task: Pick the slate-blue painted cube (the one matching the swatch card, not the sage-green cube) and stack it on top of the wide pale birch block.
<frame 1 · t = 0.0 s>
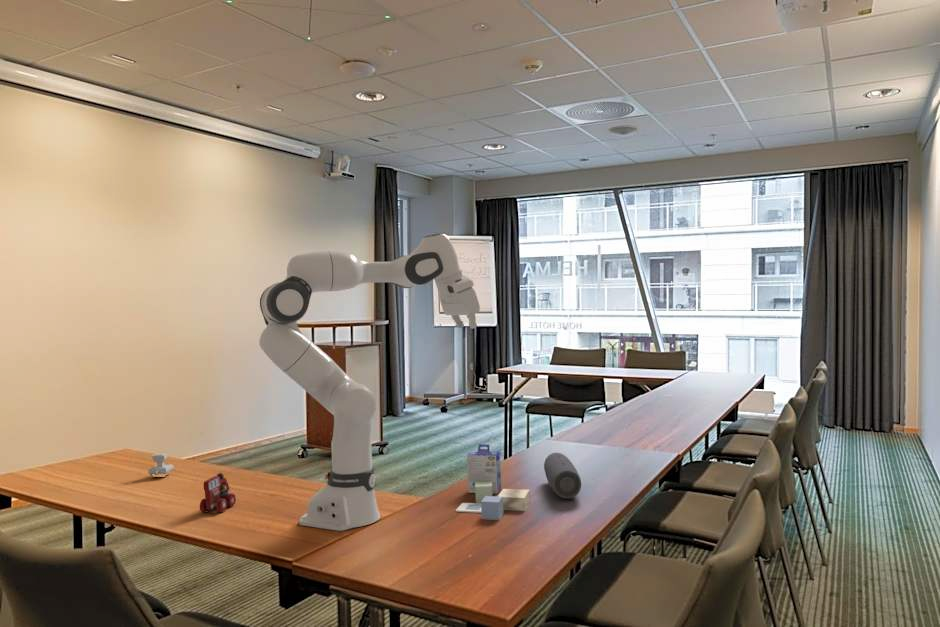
hand: (467, 327, 196), 52 cm above the table, tool tilted 20°, fingers open, 8 cm apart
stamp: (161, 477, 240), on the table
green cube: (484, 500, 194), on the table
blue cube: (492, 516, 179), on the table
toy fire truck: (218, 509, 197), on the table
bluetooth speaker: (562, 492, 200), on the table
ink cartridge box: (485, 491, 204), on the table
birch base: (514, 506, 188), on the table
swatch card: (474, 508, 187), on the table
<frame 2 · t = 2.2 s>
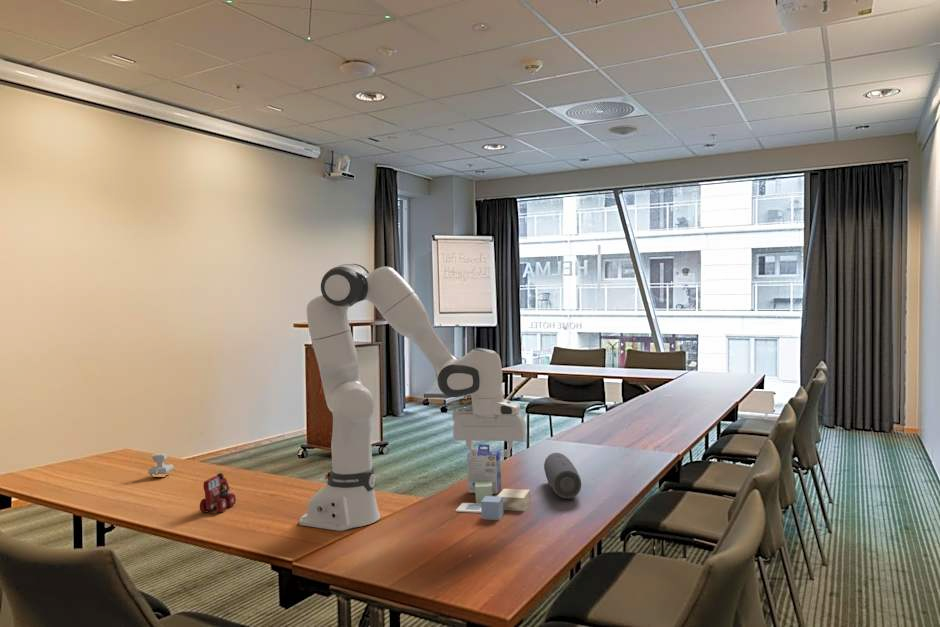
hand: (490, 456, 179), 17 cm above the table, tool pointing down, fingers open, 8 cm apart
nothing on the table moved.
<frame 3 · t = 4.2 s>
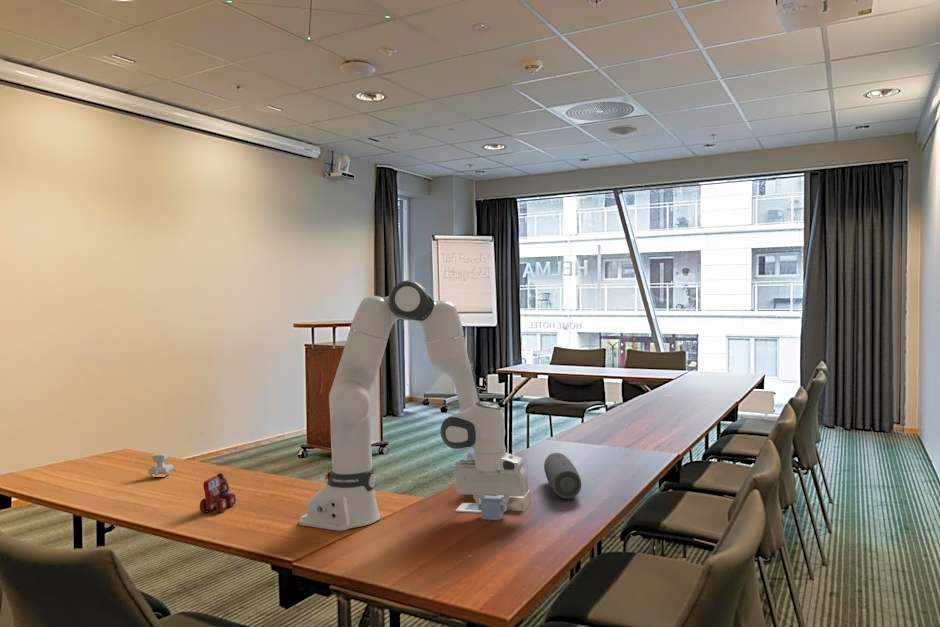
hand: (492, 510, 179), 2 cm above the table, tool pointing down, fingers closed on blue cube, 5 cm apart
blue cube: (492, 516, 179), on the table, touching gripper
everything else where it was.
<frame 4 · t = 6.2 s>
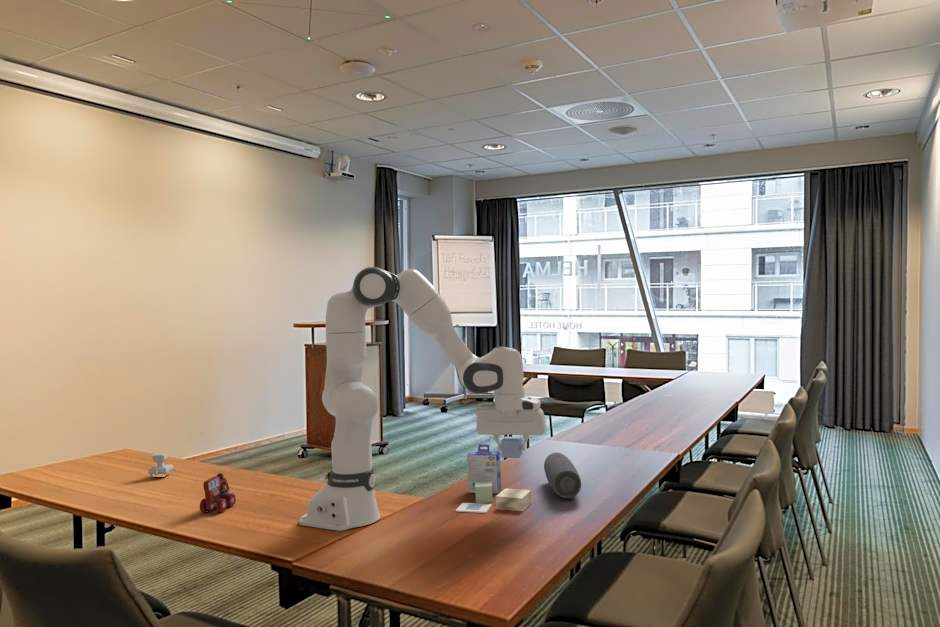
hand: (512, 449, 187), 16 cm above the table, tool pointing down, fingers closed on blue cube, 5 cm apart
blue cube: (512, 455, 187), point 15 cm above the table, touching gripper
everything else where it was.
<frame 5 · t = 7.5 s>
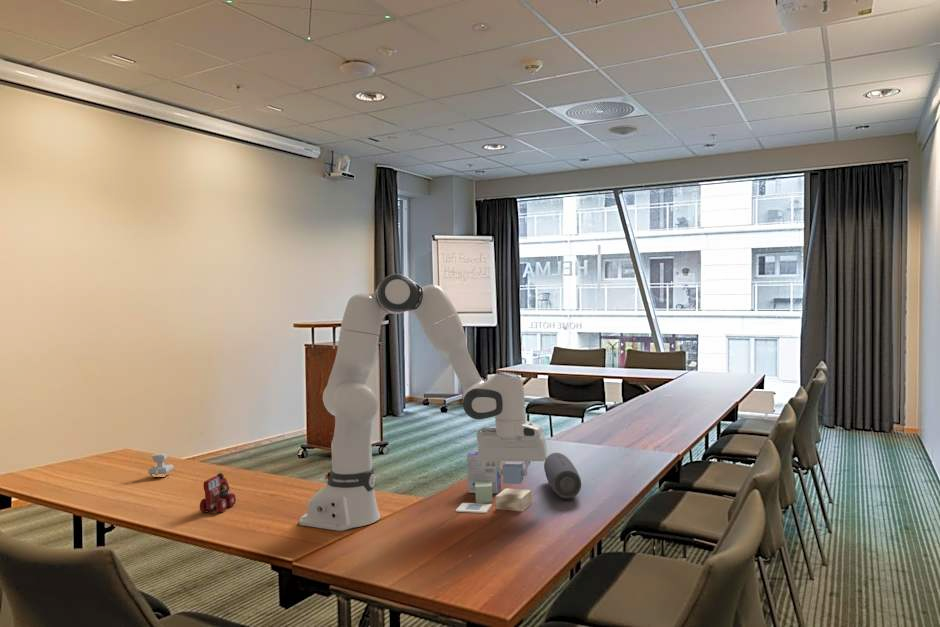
hand: (513, 475, 188), 9 cm above the table, tool pointing down, fingers closed on blue cube, 5 cm apart
blue cube: (513, 481, 188), point 7 cm above the table, touching gripper
everything else where it was.
when the fingers open (7 cm above the table, at t = 8.3 s): blue cube drops 1 cm, resting on birch base.
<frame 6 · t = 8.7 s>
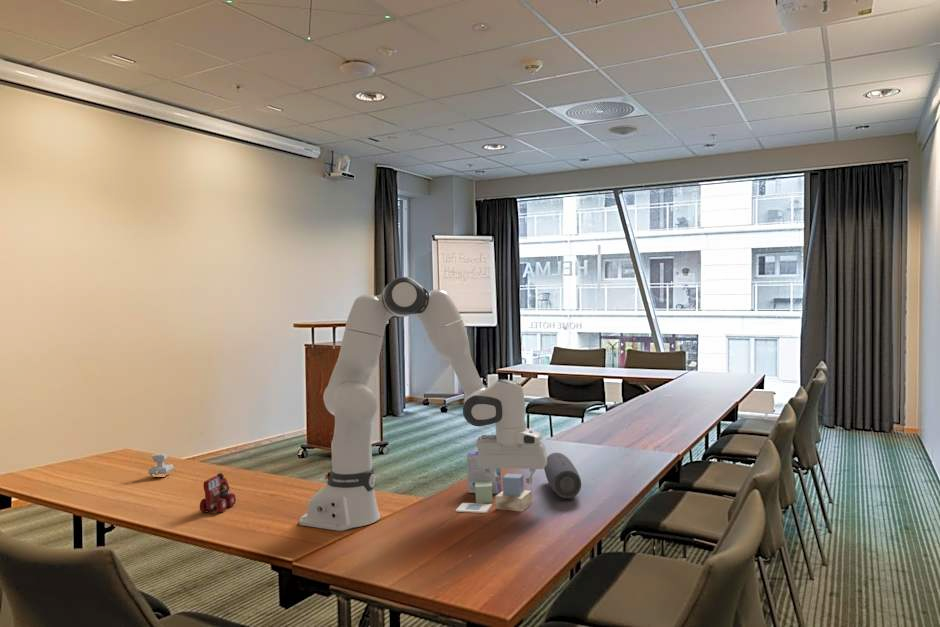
hand: (513, 482, 188), 7 cm above the table, tool pointing down, fingers open, 8 cm apart
blue cube: (513, 493, 188), point 4 cm above the table, touching birch base
birch base: (514, 507, 188), on the table, touching blue cube
everything else where it was.
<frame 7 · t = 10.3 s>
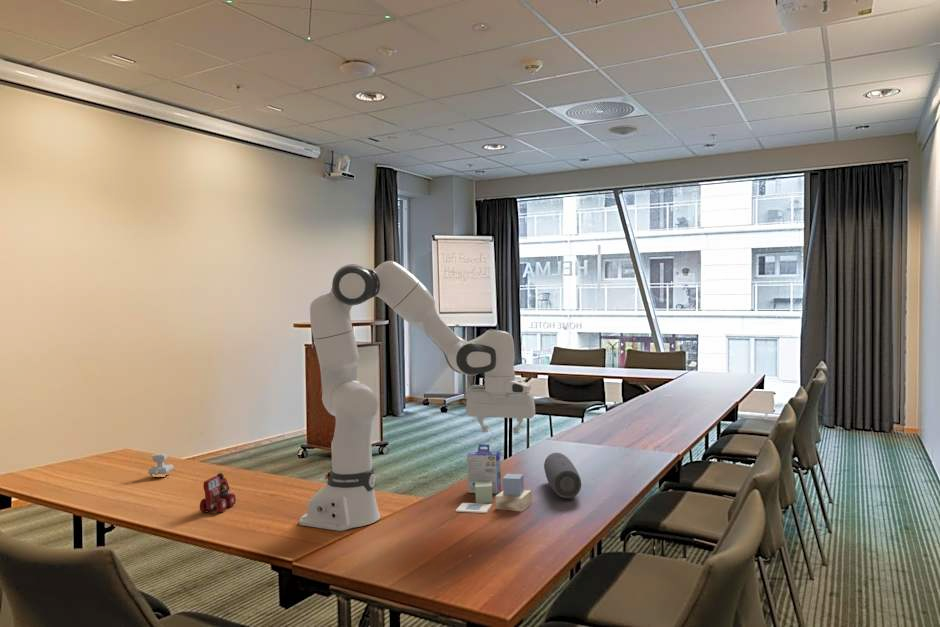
hand: (500, 432, 188), 21 cm above the table, tool pointing down, fingers open, 8 cm apart
blue cube: (513, 493, 188), point 4 cm above the table
birch base: (514, 506, 188), on the table
everything else where it was.
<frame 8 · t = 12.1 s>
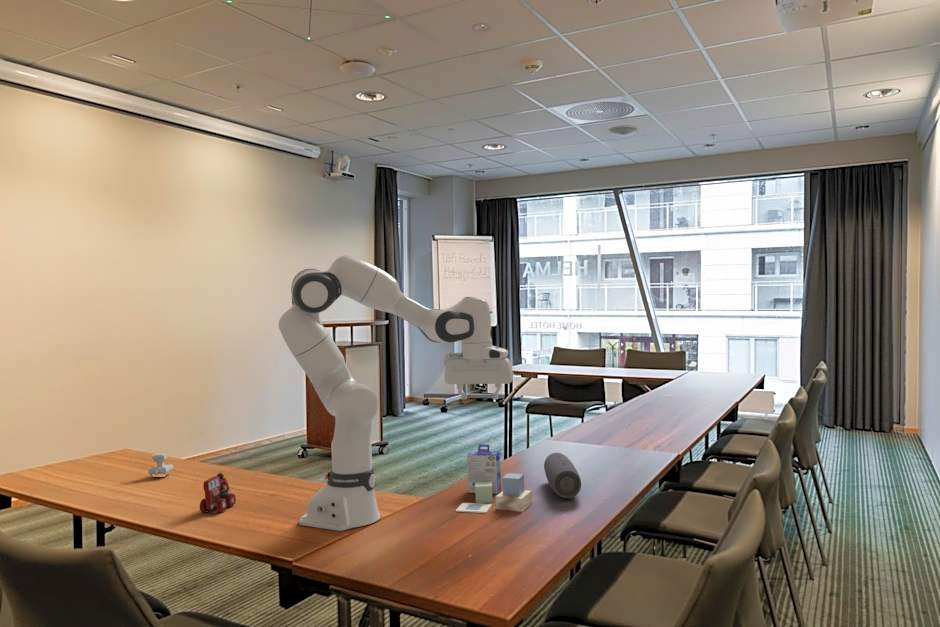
hand: (479, 399, 190), 31 cm above the table, tool pointing down, fingers open, 8 cm apart
blue cube: (513, 493, 188), point 4 cm above the table, touching birch base
birch base: (514, 507, 188), on the table, touching blue cube
everything else where it was.
at the end: blue cube 0.3 cm off-centre on the birch base, point 4.0 cm above the birch base's base; blue cube tilted 0°; green cube moved 0.1 cm from its start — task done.
